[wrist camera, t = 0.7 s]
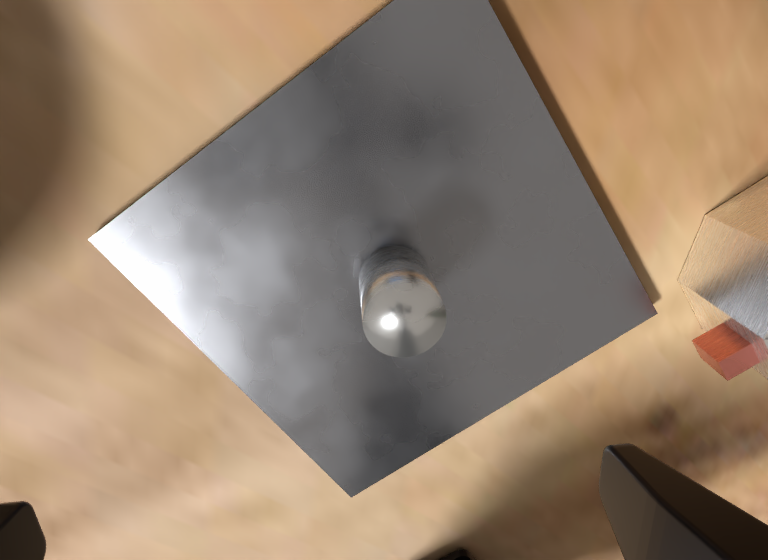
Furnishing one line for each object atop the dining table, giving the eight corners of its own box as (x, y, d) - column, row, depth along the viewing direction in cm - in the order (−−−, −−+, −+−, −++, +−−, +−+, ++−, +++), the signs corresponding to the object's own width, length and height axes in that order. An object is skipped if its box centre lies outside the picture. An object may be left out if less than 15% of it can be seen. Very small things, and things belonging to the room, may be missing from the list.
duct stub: (650, 307, 23) (710, 357, 19) (350, 487, 26) (353, 562, 22) (456, -49, 17) (488, -75, 14) (94, 234, 20) (38, 277, 16)
